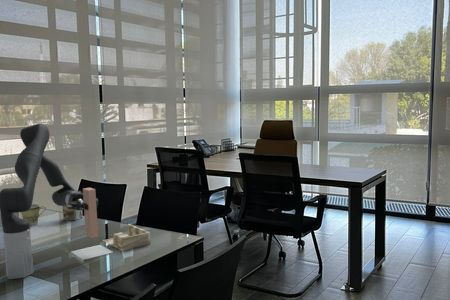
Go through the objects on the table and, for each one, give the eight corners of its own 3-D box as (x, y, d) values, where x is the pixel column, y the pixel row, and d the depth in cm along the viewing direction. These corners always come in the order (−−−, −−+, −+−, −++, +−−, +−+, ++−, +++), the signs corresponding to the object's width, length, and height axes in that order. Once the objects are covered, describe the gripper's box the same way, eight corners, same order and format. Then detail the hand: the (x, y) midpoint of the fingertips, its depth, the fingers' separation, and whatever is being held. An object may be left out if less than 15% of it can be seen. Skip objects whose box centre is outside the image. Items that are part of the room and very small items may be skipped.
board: (98, 236, 180) (95, 189, 178) (91, 238, 178) (88, 190, 176) (92, 233, 185) (89, 187, 183) (85, 234, 183) (82, 188, 181)
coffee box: (62, 219, 246) (60, 192, 245) (69, 217, 253) (67, 190, 251) (76, 220, 244) (74, 192, 242) (83, 217, 250) (81, 190, 249)
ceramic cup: (19, 227, 233) (18, 209, 233) (22, 222, 243) (21, 205, 242) (45, 224, 237) (44, 206, 236) (47, 220, 247) (46, 203, 246)
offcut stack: (129, 245, 190) (129, 235, 189) (121, 247, 187) (120, 237, 187) (121, 241, 196) (120, 232, 196) (113, 243, 193) (112, 233, 193)
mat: (113, 255, 182) (113, 252, 182) (83, 263, 174) (83, 259, 174) (100, 248, 193) (99, 244, 193) (71, 254, 185) (70, 251, 185)
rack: (150, 246, 193) (150, 232, 192) (121, 253, 184) (121, 239, 183) (130, 237, 208) (129, 223, 207) (102, 243, 199) (101, 229, 199)
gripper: (60, 194, 188) (74, 200, 174) (91, 189, 196) (107, 195, 183) (61, 211, 188) (75, 218, 175) (92, 206, 197) (108, 212, 184)
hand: (91, 206), depth 179 cm, fingers closed on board, 3 cm apart
